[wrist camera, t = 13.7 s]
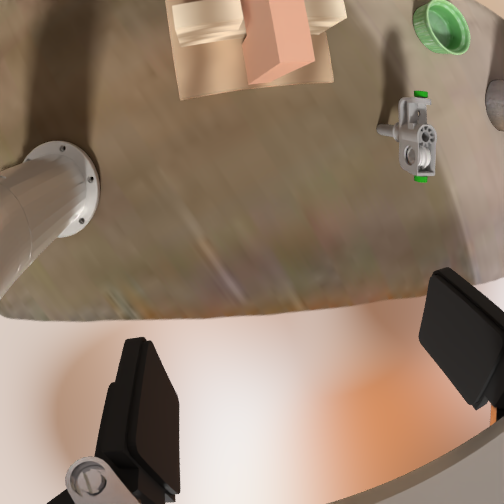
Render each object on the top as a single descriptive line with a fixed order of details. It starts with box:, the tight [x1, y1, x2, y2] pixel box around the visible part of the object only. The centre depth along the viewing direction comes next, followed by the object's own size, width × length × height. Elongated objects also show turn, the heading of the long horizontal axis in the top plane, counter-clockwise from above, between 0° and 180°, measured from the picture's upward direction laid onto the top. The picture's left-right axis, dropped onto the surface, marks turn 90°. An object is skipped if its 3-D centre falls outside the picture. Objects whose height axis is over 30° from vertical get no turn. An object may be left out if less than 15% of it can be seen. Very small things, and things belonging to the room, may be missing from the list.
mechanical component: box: [377, 91, 437, 182], centre depth 32 cm, size 3×10×10 cm, turn 4°
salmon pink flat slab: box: [240, 0, 315, 85], centre depth 22 cm, size 14×2×15 cm, turn 8°
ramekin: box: [413, 0, 470, 55], centre depth 29 cm, size 9×9×4 cm
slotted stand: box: [165, 0, 347, 101], centre depth 25 cm, size 18×15×10 cm
